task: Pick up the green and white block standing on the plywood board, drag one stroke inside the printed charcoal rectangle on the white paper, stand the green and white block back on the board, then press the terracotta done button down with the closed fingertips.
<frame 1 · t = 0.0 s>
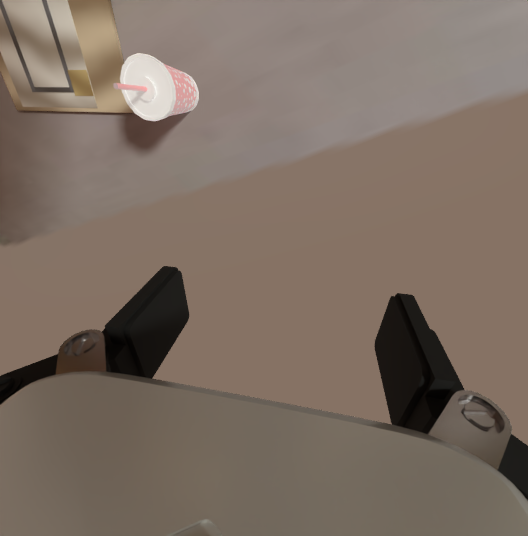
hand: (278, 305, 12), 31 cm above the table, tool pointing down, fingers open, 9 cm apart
beverage cup: (183, 92, 36), on the table
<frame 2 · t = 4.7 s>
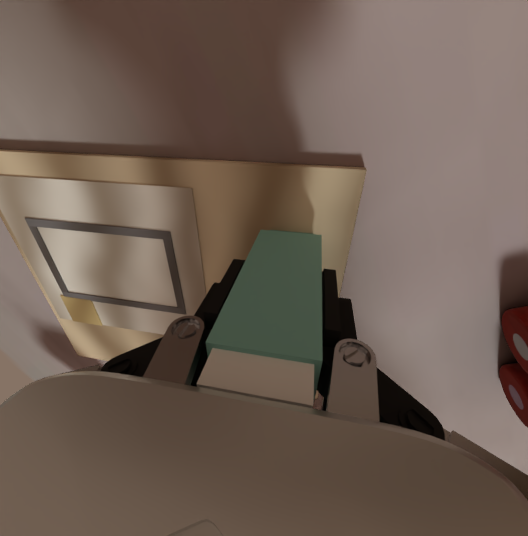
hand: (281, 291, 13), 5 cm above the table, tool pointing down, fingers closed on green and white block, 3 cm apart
green and white block: (290, 250, 16), point 1 cm above the table, touching board, gripper
board: (174, 291, 21), on the table
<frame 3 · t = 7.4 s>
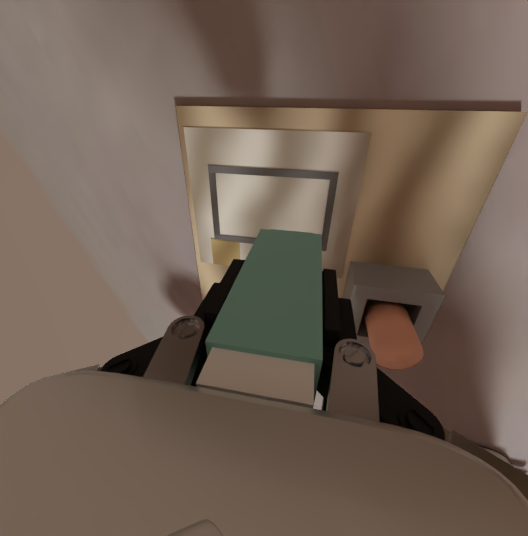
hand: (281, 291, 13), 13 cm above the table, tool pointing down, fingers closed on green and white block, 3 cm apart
green and white block: (290, 250, 16), point 9 cm above the table, touching gripper
board: (316, 231, 25), on the table
button housing: (379, 294, 26), resting on board
done button: (390, 330, 22), point 6 cm above the table, slide at 0.0 cm
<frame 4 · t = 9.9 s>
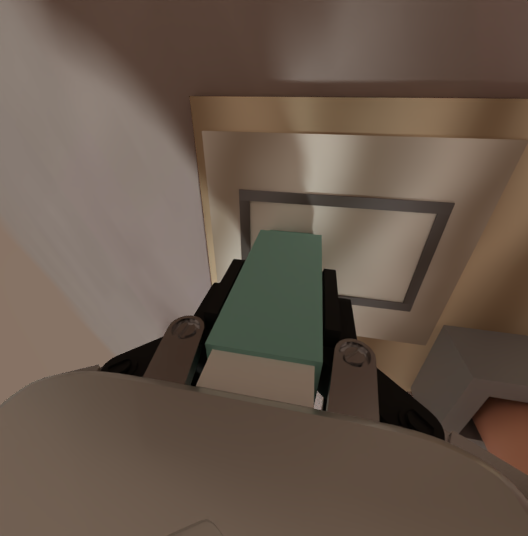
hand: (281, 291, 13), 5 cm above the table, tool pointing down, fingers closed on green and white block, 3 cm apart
green and white block: (290, 250, 16), point 1 cm above the table, touching gripper
board: (396, 282, 17), on the table
button housing: (478, 367, 18), resting on board
done button: (525, 445, 14), point 6 cm above the table, slide at 0.0 cm
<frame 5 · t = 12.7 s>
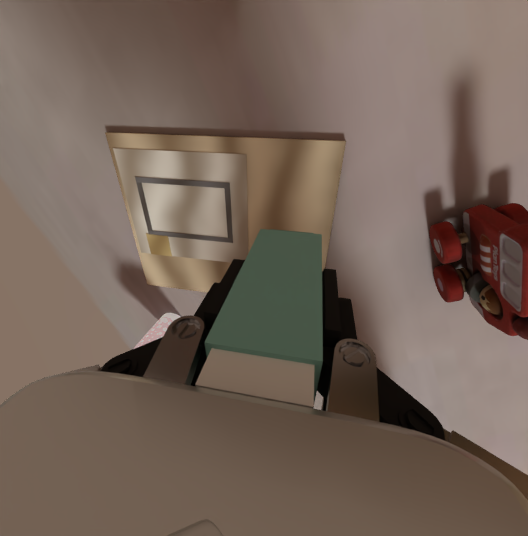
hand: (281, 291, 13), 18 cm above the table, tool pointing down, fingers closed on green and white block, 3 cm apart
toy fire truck: (466, 248, 28), on the table
beverage cup: (174, 322, 43), on the table
green and white block: (290, 250, 16), point 14 cm above the table, touching gripper
board: (225, 227, 31), on the table
when the fingers open (5 cm above the table, at t = 15.2 s): green and white block stays where it is, resting on board.
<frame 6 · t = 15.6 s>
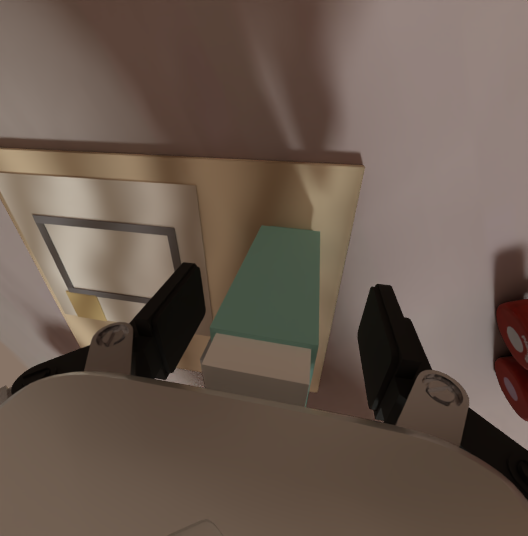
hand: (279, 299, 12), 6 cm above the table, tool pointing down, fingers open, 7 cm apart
green and white block: (289, 246, 17), point 1 cm above the table, touching board
board: (177, 286, 21), on the table
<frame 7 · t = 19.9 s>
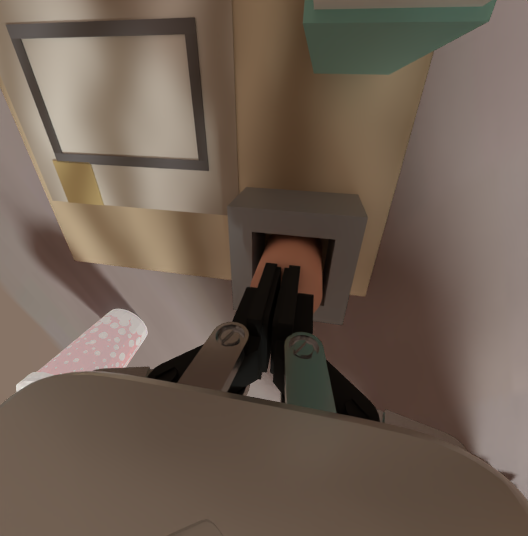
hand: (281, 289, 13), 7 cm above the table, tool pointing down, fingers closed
beverage cup: (128, 324, 28), on the table
green and white block: (356, 31, 12), point 1 cm above the table, touching board
board: (194, 141, 16), on the table
button housing: (295, 241, 18), resting on board
done button: (290, 268, 15), point 4 cm above the table, slide at 1.4 cm, touching gripper
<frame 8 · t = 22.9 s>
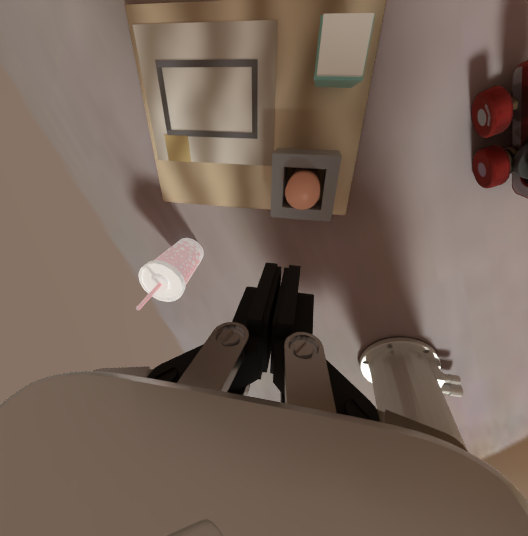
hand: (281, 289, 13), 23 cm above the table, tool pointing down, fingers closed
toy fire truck: (510, 129, 26), on the table
beverage cup: (190, 250, 41), on the table
green and white block: (335, 66, 25), point 1 cm above the table, touching board
board: (249, 122, 30), on the table
button housing: (304, 180, 31), resting on board
done button: (303, 186, 29), point 4 cm above the table, slide at 2.1 cm
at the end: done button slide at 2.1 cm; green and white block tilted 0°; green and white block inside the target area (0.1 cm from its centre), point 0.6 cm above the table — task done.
